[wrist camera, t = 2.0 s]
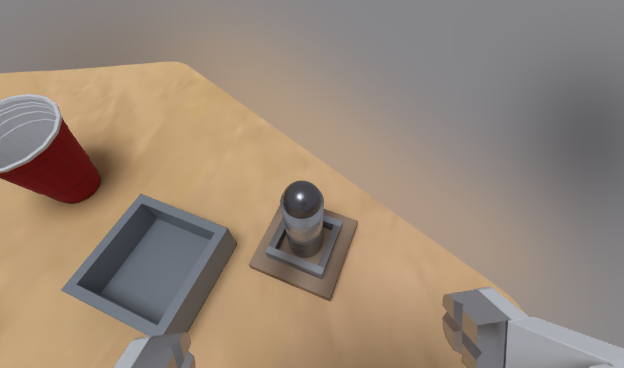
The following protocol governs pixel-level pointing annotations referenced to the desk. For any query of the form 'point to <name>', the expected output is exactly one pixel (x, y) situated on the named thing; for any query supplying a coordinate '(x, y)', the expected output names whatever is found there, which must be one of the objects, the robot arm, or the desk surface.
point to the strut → (303, 218)
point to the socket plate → (306, 271)
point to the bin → (154, 267)
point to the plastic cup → (43, 150)
